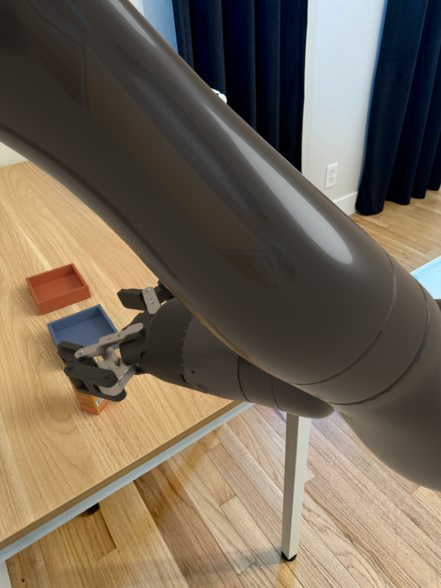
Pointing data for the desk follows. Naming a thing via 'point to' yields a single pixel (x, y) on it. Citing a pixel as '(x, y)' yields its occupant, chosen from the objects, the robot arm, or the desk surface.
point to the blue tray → (82, 327)
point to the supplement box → (89, 399)
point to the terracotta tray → (58, 288)
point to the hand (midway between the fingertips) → (94, 323)
